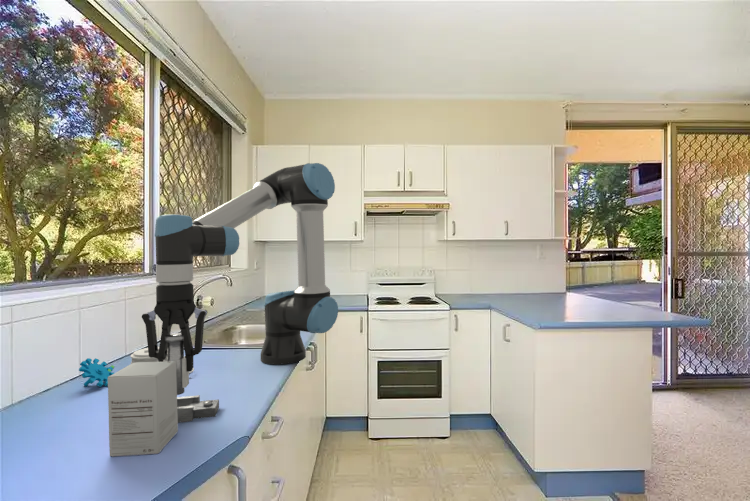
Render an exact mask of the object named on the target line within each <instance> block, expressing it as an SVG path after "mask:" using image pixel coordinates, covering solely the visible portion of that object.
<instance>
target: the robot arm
mask: <svg viewBox="0 0 750 501" xmlns="http://www.w3.org/2000/svg"><path fill="white" fill-rule="evenodd" d="M335 183H336V182H335V179H334V177H333V174H332V172H331V171H330V169H329V168H328V167H327V166H326V165H324V164H323V163H320V162H314V163H312V162H311V163H310V162H307V163H305V164H300V165H295V166H288V167H283V168H281V169H278V170H277V171H275V172H273V173H271V174H269V175H267V176H266V177H264V178H262V179H260V180H259V181H256V182H255V183H254V185H253V188H251V189H249V190H247V191H244V192H243V193H242V194H240V195H238V196H236V197H234V198H232V199H230V200H228V201H227V202H225V203H223V204H221V205H219V206H217V207H216V208H214V209H213V210H211V211H208V212H206V213H205V214H203V215H200V216H199V217H198V218H196V219H194V220H193V218H192V216H190V215H187V214H186V215H185V214H162V215H159V216H158V215H157V217H156V219H155V228H154V229H155V230H154V238H155V239H154V240H155V282H156V283H158V284H157V285H156V286H155V287H156V288H155V289H156V290H155V291H156V292H155V294H156V295H155V296H156V297H155V298H156V304H155V306H154V308H153V310H150V311H148V312H145V313H143V314H142V315H141V318H142V320H143V322H144V324H145V334H146V341H147V342H146V343H147V348H148V353H149V357H154V358H157V359H158V362H165V361H168V357H166V356H167V355H168V354H167V351H168V343H166V342H165V337H167V336H168V335H170V334H171V330H172V326H173V325H178V327H179V330H180V333H181V335H182V336H184V341H183V345H184V358H182V388H184V389H186V388H187V386H189V384H190V373H189V372H191V371H192V370H193V368H194V356H197V355H199V354H200V353H201V352H202V350H203V344H204V343H203V340H204V330H205V328H204V327H205V326H204V325H205V319H206V317H207V315H208V310H207V309H201V308H198V307H197V306H196V304H195V301H194V299H195V298H194V296H195V295H194V284H193V283H191V282H192V281H193V280H194V257H225V256H233V255H234V254H236V253H237V251H238V250H239V247H240V235H239V232H238V231H237V230H236V228H237V227H239V226H241V225H242V224H244V223H246V222H247V221H248V220H250V219H252V218H254V217H255V216H257V215H259V214H260V213H262V212H263V211H265V210H273V209H274V208H276V207H277V206H280V205H285V204H290V203H291V204H290V206H291V208H292V209H293V210H294V211H295V213H296V245H297V248H296V249H297V252H296V253H297V279H298V281H297V282H298V284H297V287H296V288H295V289H294V290H286V291H277V292H270V293H268V294H266V296H265V301H264V305H263V306H264V321H265V322H264V326H265V329H264V330H265V337H264V342H263V345H262V348H261V351H260V362H261V363H263V364H267V365H287V364H289V365H290V364H295V363H298V362H301V361H303V360H304V359H306V358H307V353H306V348H305V345H304V341H303V339H302V337H301V332H306V333H311V334H324V333H327V332H329V331H330V330H331V329H332V328H333V326H334V324H335V323H336V321H337V319H338V313H339V305H338V302H337V301H336V299H335V298H333V297H332V296H331V289H330V288H329V287H328V286H327V285H326V265H325V264H326V262H325V234H324V232H325V231H324V230H325V229H324V227H325V226H324V225H325V224H324V211H325V210H326V209H327V208H328V207H329V206H328V205H329V203H328V202H329V201H328V200H329V199H330V200H331V198H332V197H333V195H334V193H335V191H336V184H335ZM193 314H194V317H195V319H196V321H195V322H196V323H195V331H194V332H195V335H194V345H193V342H192V336H191V330H190V321H189V319H190V318H191V316H192V315H193ZM157 317H158V318H159V319H160V321H161V323H162V324H161V334H160V339H159V340H160V341H159V351H158V337H157V336H158V335H157V326H156V321H155V320H156V319H157Z"/></svg>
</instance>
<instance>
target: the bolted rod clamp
mask: <svg viewBox="0 0 750 501" xmlns="http://www.w3.org/2000/svg"><path fill="white" fill-rule="evenodd" d="M219 410H220V399H208V400H201V395H199V394H198V395H188V396H187V395H186V396H179V397H178V396H177V414H178V424H179V423H188V422H193V421H194V420H195V419H205V418H206V419H207V418H216V416H217V414H218V411H219Z"/></svg>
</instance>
